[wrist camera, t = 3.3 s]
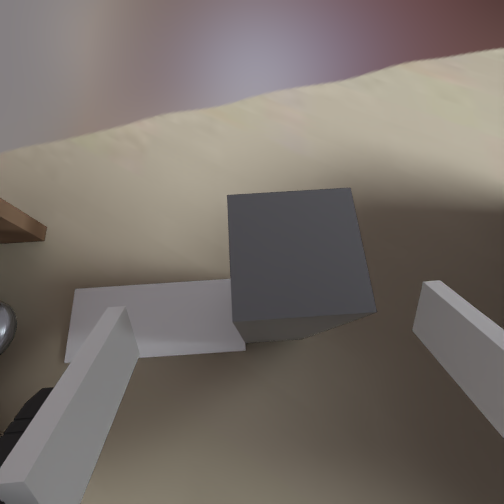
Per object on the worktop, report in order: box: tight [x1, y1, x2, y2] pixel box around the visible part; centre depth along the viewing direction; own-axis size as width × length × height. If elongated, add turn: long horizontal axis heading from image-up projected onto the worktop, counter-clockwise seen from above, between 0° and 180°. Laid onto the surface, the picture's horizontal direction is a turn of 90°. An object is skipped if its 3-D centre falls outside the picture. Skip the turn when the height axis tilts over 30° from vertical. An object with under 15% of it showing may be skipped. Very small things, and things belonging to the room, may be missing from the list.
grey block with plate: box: [64, 188, 377, 363], centre depth 15 cm, size 16×5×13 cm, turn 94°
